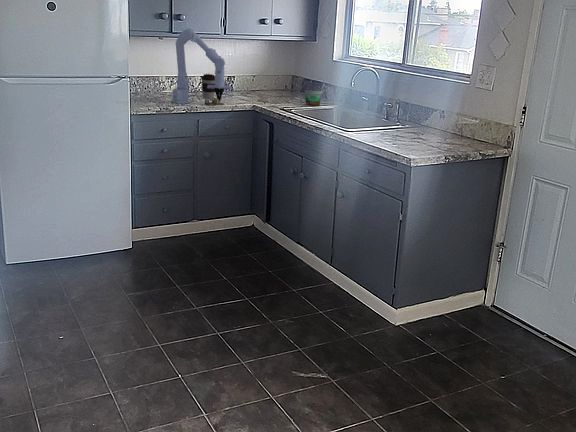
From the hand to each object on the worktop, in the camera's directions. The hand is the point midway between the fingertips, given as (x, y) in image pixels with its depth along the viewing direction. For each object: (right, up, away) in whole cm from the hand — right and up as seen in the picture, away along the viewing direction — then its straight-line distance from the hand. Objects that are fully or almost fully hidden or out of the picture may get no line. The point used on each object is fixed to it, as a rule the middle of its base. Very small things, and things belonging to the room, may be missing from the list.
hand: (219, 100), depth 399 cm
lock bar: (-2, -1, 0) cm, 3 cm away
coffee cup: (-10, +6, +24) cm, 27 cm away
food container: (+59, +1, +24) cm, 64 cm away
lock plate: (-4, -2, +2) cm, 4 cm away
